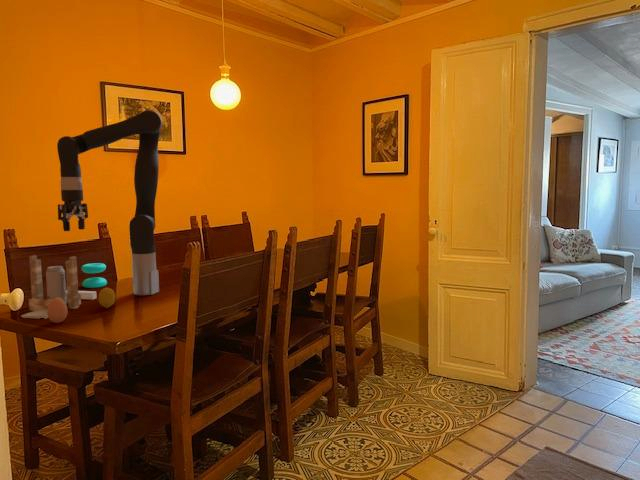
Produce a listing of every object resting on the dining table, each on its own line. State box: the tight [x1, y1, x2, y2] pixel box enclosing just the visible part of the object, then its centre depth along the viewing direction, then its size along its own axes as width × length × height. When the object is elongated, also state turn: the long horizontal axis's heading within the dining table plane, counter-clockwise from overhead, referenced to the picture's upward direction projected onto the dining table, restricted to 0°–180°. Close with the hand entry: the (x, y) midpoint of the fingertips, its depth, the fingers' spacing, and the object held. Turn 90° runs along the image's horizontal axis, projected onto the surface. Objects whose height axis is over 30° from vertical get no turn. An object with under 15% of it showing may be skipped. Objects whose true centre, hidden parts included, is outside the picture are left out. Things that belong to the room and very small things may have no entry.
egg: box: [47, 298, 69, 324], centre depth 147 cm, size 6×6×8 cm
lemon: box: [98, 286, 116, 309], centre depth 165 cm, size 6×6×8 cm
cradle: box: [28, 254, 82, 312], centre depth 166 cm, size 17×12×19 cm
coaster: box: [20, 309, 49, 320], centre depth 157 cm, size 9×9×1 cm
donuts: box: [81, 262, 108, 289], centre depth 203 cm, size 10×10×10 cm
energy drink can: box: [45, 265, 68, 305], centre depth 166 cm, size 6×6×15 cm
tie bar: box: [66, 289, 98, 300], centre depth 181 cm, size 14×2×3 cm, turn 81°
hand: (74, 230), depth 178 cm, fingers open, 8 cm apart
